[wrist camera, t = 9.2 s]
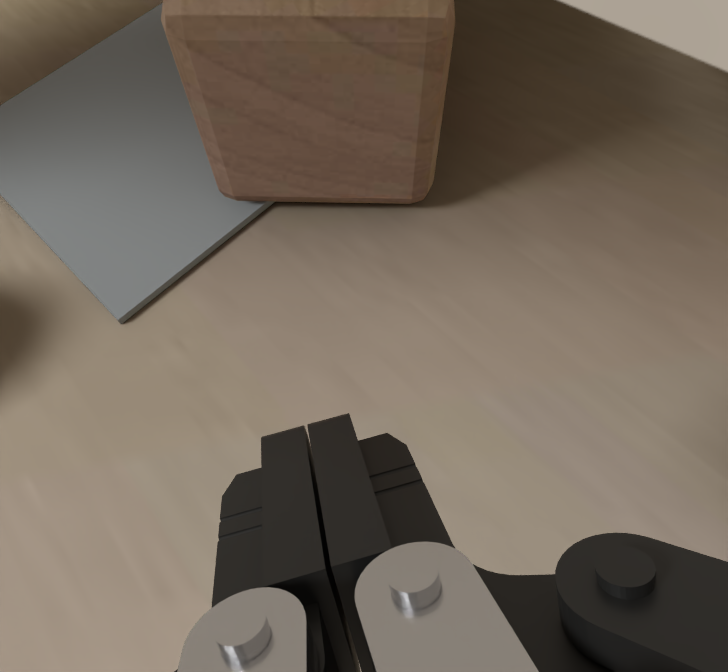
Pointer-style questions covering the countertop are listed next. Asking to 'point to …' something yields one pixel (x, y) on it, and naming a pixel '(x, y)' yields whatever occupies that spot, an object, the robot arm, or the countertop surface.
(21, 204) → the mat
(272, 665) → the robot arm
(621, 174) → the countertop surface
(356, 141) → the block
